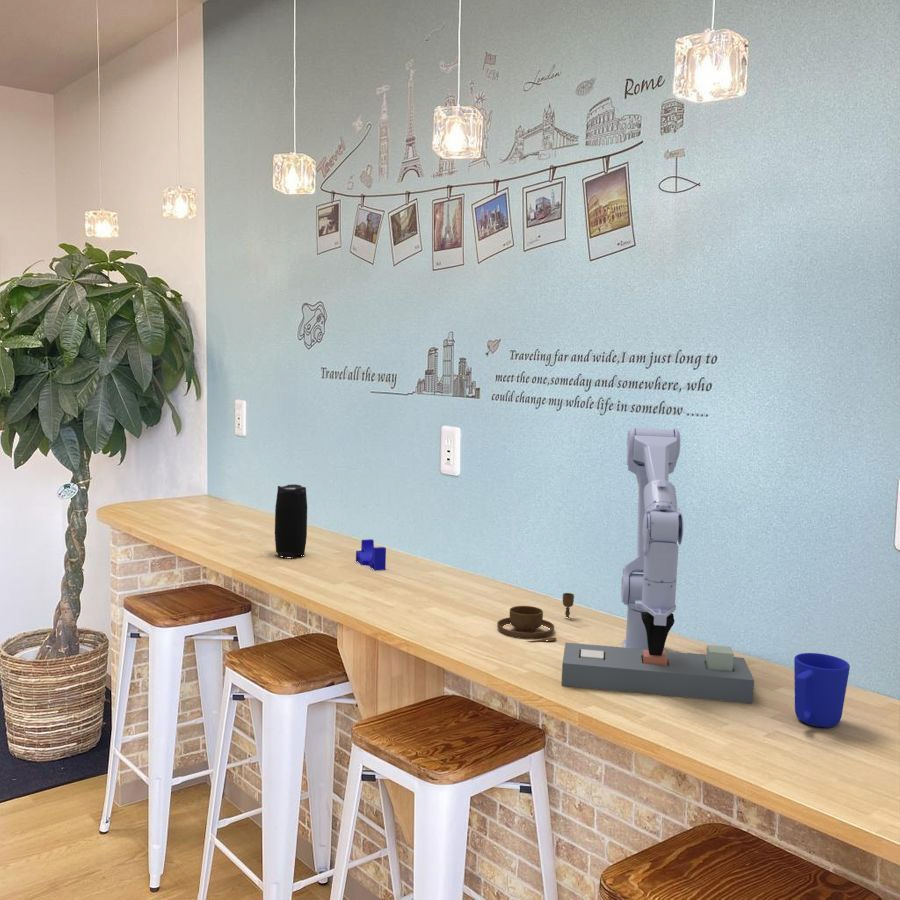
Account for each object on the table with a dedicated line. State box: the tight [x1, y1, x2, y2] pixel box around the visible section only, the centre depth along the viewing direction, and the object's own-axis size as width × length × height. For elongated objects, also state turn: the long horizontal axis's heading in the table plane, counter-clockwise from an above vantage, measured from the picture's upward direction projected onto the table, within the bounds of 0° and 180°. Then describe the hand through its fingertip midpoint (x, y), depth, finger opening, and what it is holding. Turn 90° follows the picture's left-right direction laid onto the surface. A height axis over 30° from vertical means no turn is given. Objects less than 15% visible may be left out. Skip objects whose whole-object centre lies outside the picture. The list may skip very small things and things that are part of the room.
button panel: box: [561, 642, 755, 704], centre depth 161 cm, size 12×32×4 cm, turn 80°
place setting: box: [496, 592, 575, 643], centre depth 191 cm, size 18×20×6 cm
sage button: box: [706, 644, 735, 671], centre depth 159 cm, size 4×4×4 cm
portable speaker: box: [274, 483, 308, 558], centre depth 251 cm, size 9×9×20 cm
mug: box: [793, 652, 851, 728], centre depth 144 cm, size 8×12×10 cm
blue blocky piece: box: [355, 538, 387, 571], centre depth 244 cm, size 12×4×6 cm, turn 23°
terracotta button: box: [643, 650, 668, 666], centre depth 160 cm, size 4×4×4 cm
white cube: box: [581, 649, 604, 660], centre depth 162 cm, size 4×4×4 cm
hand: (655, 654), depth 160 cm, fingers closed, pressing on terracotta button
